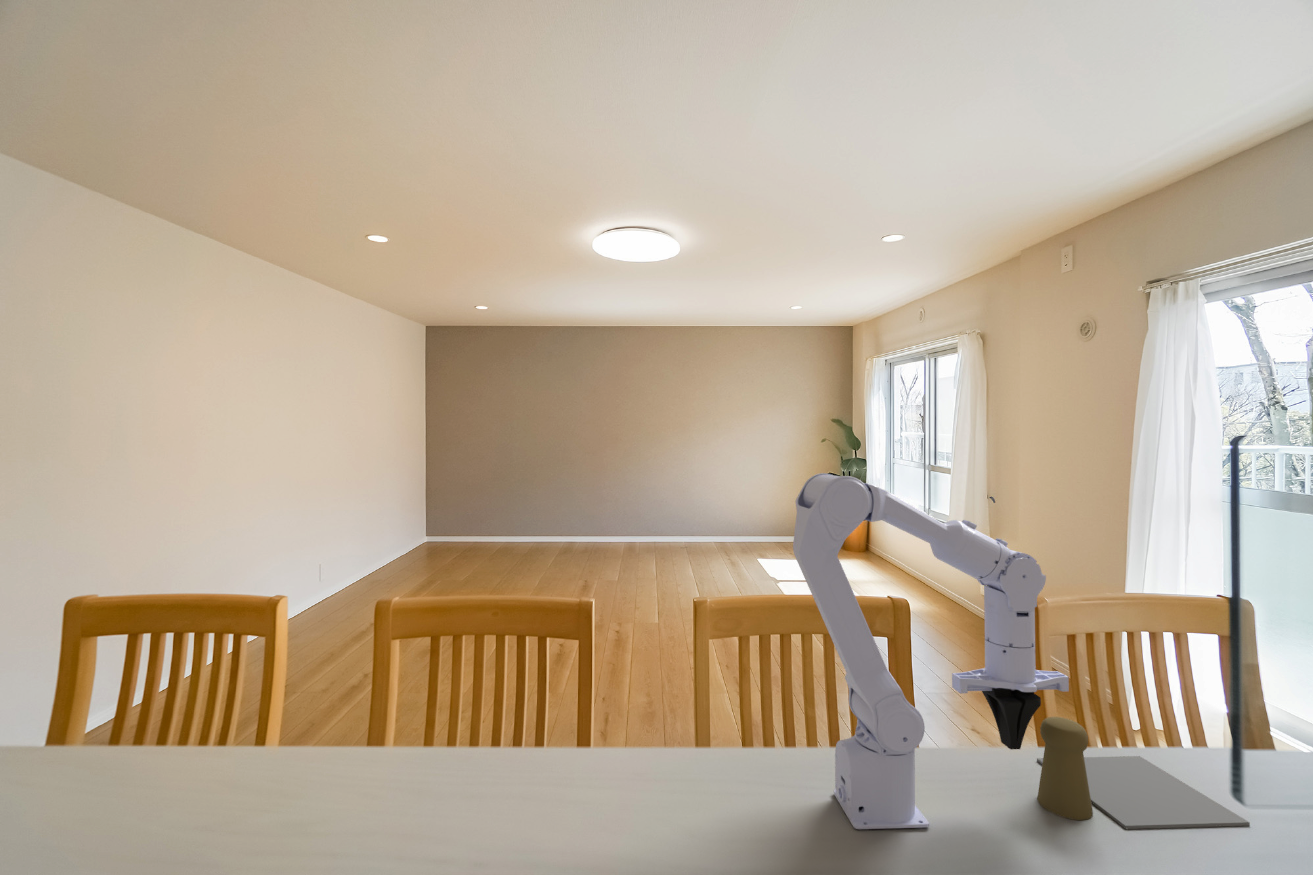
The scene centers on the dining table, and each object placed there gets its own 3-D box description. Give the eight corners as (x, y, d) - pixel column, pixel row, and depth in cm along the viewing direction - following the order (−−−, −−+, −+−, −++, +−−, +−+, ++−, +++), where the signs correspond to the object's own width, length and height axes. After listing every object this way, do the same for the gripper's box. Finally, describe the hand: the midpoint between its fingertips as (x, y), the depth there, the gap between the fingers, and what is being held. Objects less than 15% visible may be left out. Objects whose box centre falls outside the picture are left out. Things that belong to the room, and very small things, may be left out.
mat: (1125, 828, 73) (1125, 825, 73) (1036, 760, 89) (1036, 758, 89) (1249, 825, 74) (1249, 822, 74) (1139, 758, 90) (1139, 755, 90)
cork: (1102, 822, 75) (1101, 734, 75) (1049, 816, 76) (1048, 729, 76) (1079, 795, 80) (1078, 713, 81) (1029, 790, 82) (1028, 709, 82)
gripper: (973, 652, 74) (974, 762, 74) (1086, 650, 75) (1087, 760, 74) (943, 634, 81) (944, 735, 81) (1046, 633, 82) (1048, 733, 81)
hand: (1010, 745), depth 78 cm, fingers closed
